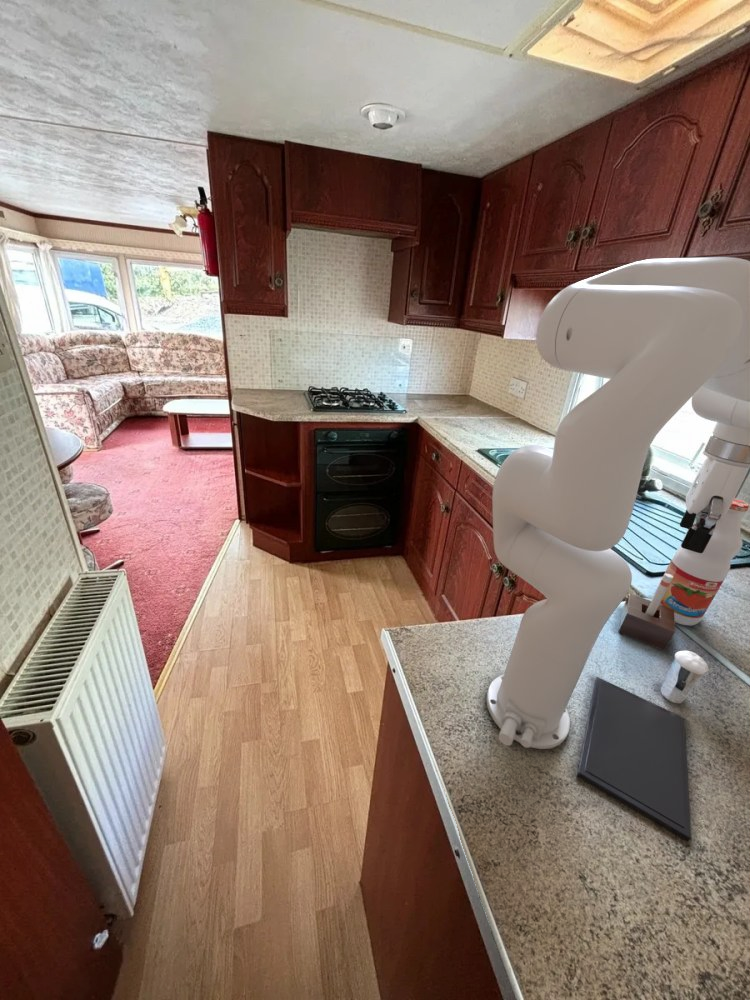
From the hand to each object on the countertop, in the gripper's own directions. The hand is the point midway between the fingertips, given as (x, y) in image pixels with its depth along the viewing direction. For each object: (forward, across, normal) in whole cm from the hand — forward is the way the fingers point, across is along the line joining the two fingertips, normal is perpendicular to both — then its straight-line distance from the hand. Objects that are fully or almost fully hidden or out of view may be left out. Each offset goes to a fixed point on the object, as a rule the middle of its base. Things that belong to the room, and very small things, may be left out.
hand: (689, 538), depth 74 cm
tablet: (+22, +31, 0) cm, 38 cm away
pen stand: (+22, 0, 0) cm, 23 cm away
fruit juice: (+23, -12, +6) cm, 26 cm away
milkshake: (+23, +16, +5) cm, 28 cm away
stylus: (+22, 0, 0) cm, 23 cm away
